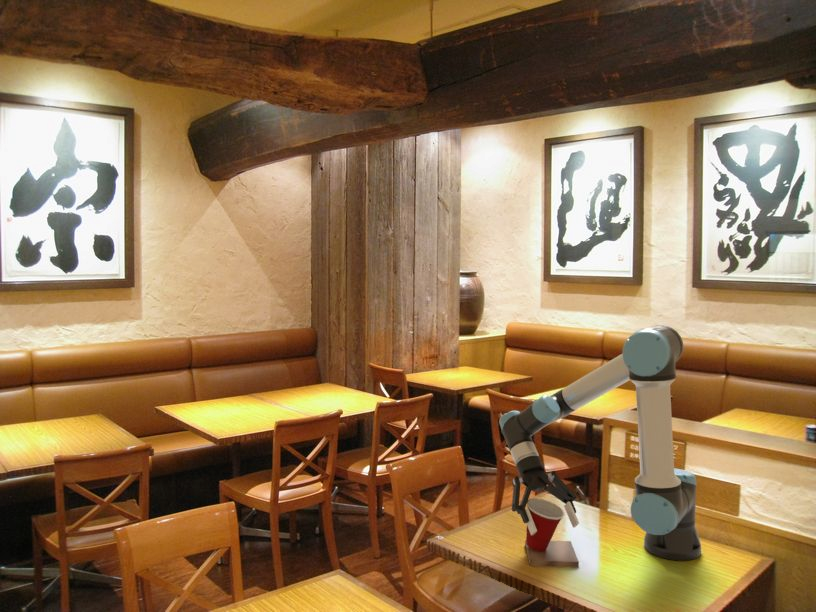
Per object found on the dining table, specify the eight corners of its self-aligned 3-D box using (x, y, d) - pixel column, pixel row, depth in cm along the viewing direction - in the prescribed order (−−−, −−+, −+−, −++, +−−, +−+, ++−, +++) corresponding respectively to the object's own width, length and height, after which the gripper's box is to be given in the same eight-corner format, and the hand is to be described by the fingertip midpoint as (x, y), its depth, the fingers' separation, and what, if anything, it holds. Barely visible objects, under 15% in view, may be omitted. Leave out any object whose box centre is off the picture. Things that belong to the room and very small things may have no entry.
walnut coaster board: (570, 546, 195) (570, 541, 195) (578, 567, 182) (578, 561, 182) (525, 545, 196) (525, 540, 196) (530, 566, 183) (530, 560, 183)
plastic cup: (531, 557, 183) (541, 515, 181) (510, 537, 192) (519, 497, 191) (563, 556, 187) (573, 515, 186) (540, 537, 197) (550, 498, 196)
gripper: (558, 461, 206) (587, 527, 193) (485, 472, 197) (510, 542, 184) (568, 449, 201) (599, 516, 188) (494, 459, 192) (521, 530, 179)
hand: (555, 529), depth 186 cm, fingers open, 13 cm apart
